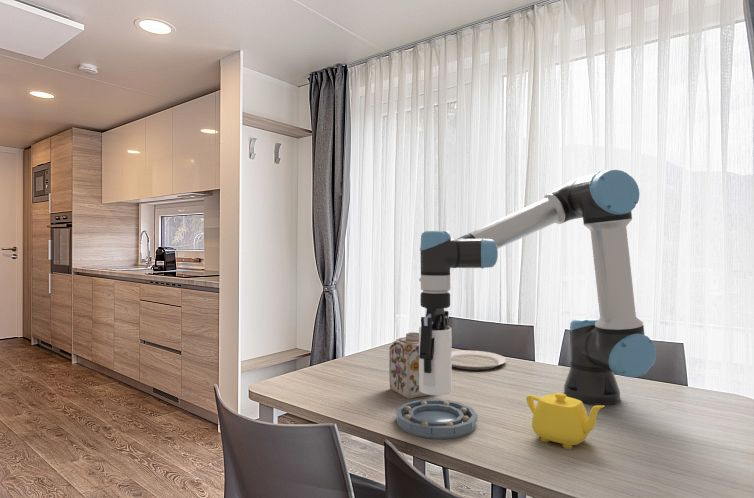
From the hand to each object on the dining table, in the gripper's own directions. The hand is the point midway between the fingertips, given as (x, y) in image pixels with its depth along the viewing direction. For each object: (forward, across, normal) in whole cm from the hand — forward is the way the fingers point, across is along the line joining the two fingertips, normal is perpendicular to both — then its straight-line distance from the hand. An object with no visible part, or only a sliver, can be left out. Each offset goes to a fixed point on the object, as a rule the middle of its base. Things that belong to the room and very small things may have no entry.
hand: (435, 380), depth 118 cm
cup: (+3, 0, 0) cm, 3 cm away
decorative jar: (+11, -21, -15) cm, 28 cm away
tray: (+11, 0, 0) cm, 11 cm away
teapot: (+11, -3, +30) cm, 32 cm away
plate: (+11, -63, -9) cm, 65 cm away
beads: (+10, 0, 0) cm, 10 cm away
